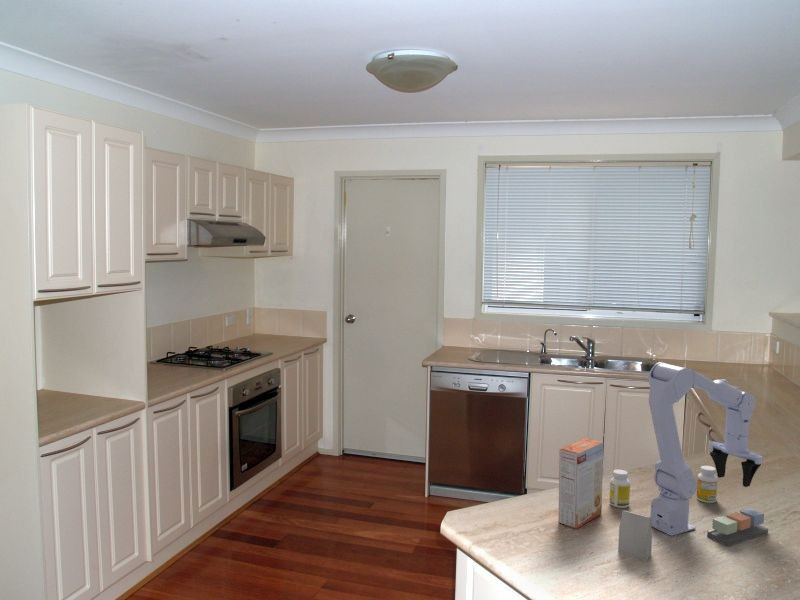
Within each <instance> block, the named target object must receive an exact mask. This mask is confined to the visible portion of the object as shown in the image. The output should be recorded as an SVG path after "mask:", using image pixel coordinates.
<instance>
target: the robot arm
mask: <svg viewBox="0 0 800 600" xmlns="http://www.w3.org/2000/svg"><path fill="white" fill-rule="evenodd" d="M647 379H648V383H649V392H648V393H649V394H648V405H649V409H650V415H651V419H652V424H653V425H652V426H653V430H654V435H655V439H656V444H657V448H658V454H659V460H658V461H657V462H655V464H654V469H655V470H654V483H655V484H656V486H658V491H659V494H658V496H656V497H655V498H653V499H652V501H651V504H650V516H649V517H651V526H652V528H655V529H657V530H659V531H661V532H662V533H665V534H667V535H668V536H676V535H679V534H682V533H683V534H684V533H686V532H690V531H693V530H695V529H696V526H694V525H693V524H690V523H689V515H690V500H691V499H692V498H693V496H694V495H695V494H696V493H697V478H696V477H695V476H694V474H693V470H692V468H691V467H690V466H689V465H688V463H687V462H686V461H685V460H684V456H683V452H682V451H683V450H682V448H681V447H682V446H681V443H680V437H679V432H678V427H677V426H678V425H677V423H676V421H677V420H676V417H675V411H674V406H673V405H674V404H676V403H678V402H679V401H680V400H681V399H682V398H683V397H684V396H685V395H687V393H688V392H689V391H690V390H691V389H694V388H698V389H700V390H702V391H705V392H706V395H707V397H708V398H709V399H710V400H711V401H714V402H716V403H718V404H720V405H722V406H723V408H724V409H726V410H725V411H726V413H725V426H724V427H725V428H724V443H722V442H718V441H710V442H709V450H712V451H710V452H709V455H710V457H711V459H712V461H713V463H714V466H715V467H714V468H715V469H716V476H717V478H719V479H721V478H724V477H725V474H726V467H727V460H728V456H730V455H731V456H733V457H737V458H740V459H742V460H743V461H741V463H740V465H741V468H742V475H743V476H742V487H744V488H747V487H750V486H751V484H752V481H753V478H754V477H755V474H756V472H757V471H758V469H759V468H760V467H761V466H762V464H763V462H764V456H762V455H760V454H758V453H755V452H753V451H751V450H749V449H748V445H749V444H748V442H749V433H750V432H749V431H750V430H749V429H750V420H751V419H752V417H753V412H754V410H755V409H756V405H757V402H755V401H756V400H755V398H754V396H753V394H751V393H750V392H746V391H743V390H740V387H739V386H737V385H731V384H729V381H728V380H726V379H722V378H720V379H715V380H712V379H710V378H709V377H706V376H705V375H703V374H702V373H699V372H698V371H696V370H693V369H690V368H688V367H682V366H677V365H674V364H673V365H672V364H668V363H666V362H663V361H659V362H657V363H655V364H654V365H653V366H652V367H651V369H650V371H649V372H648V374H647ZM744 460H745V461H744Z"/></svg>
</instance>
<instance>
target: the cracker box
mask: <svg viewBox="0 0 800 600" xmlns="http://www.w3.org/2000/svg"><path fill="white" fill-rule="evenodd" d="M558 458H559V463H558V464H559V466H558V467H559V469H558V476H559V477H558V480H559V481H558V524H560V523H561V525H563V524H564V525H565V526H567V527H569V528H572V529H575V530H578V529H579V528H580V527H582V526H584V525H585V524H587V523H588V522H590V521H592V520H593V519H595V518H597V517H599V516H600V515H601V514H602V512H603V509H602V508H603V507H602V506H603V505H602V504H603V478H604V477H603V473H604V470H603V469H604V466H603V465H604V442H603V441H602V440H601V441H600V440H596V439H594V438H590V437H589V438H588V437H584V438H582V439H580V440H578V441H575V442H573V443H569V445H566V446H563V447H561V448H559V457H558Z"/></svg>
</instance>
